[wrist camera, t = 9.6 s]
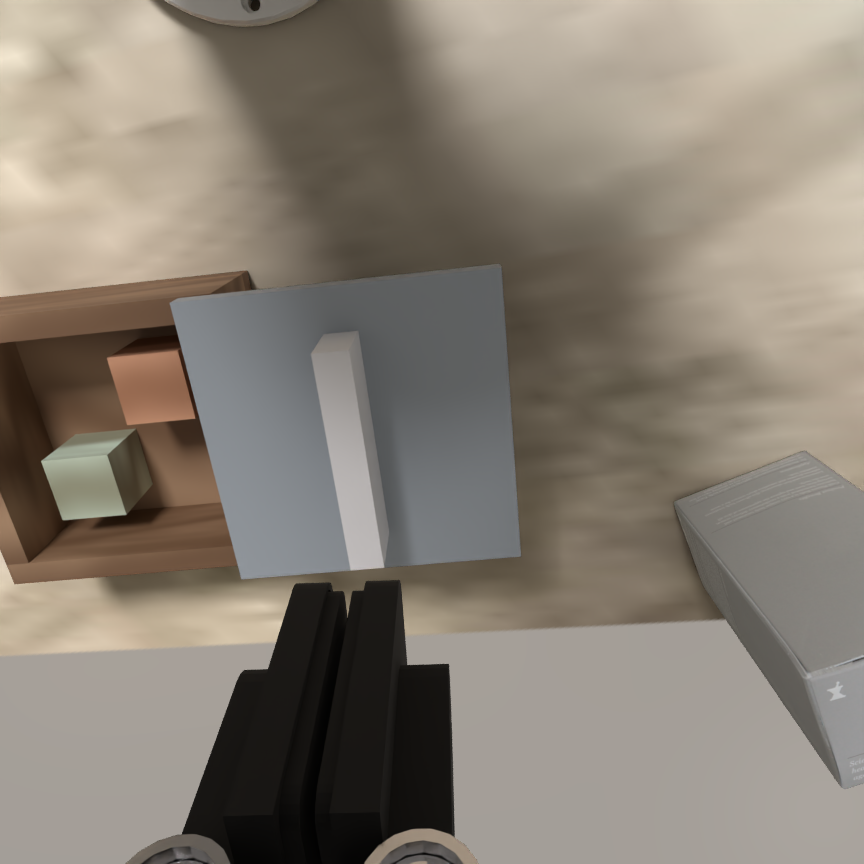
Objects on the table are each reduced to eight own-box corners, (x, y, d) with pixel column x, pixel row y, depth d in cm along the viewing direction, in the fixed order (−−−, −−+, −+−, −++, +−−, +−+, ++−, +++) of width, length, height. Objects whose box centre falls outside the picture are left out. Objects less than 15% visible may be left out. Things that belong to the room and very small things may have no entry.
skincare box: (698, 580, 42) (833, 809, 27) (666, 486, 40) (795, 684, 25) (836, 533, 41) (1056, 750, 26) (811, 433, 38) (1039, 610, 24)
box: (-11, 298, 36) (-93, 326, 30) (247, 270, 35) (210, 293, 30) (72, 525, 41) (14, 584, 36) (296, 505, 40) (273, 562, 35)
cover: (178, 298, 29) (139, 319, 26) (499, 263, 29) (507, 280, 25) (246, 567, 35) (223, 617, 31) (519, 545, 34) (528, 593, 30)
